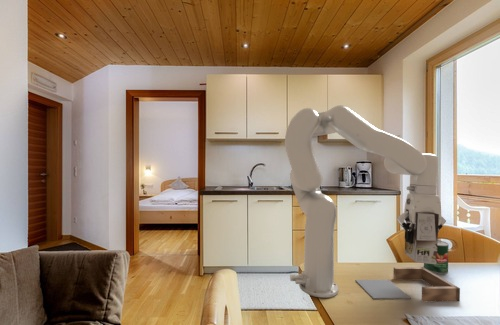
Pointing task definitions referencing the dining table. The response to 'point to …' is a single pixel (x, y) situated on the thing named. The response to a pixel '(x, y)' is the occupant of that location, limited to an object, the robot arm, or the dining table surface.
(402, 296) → the mat
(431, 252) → the coffee box
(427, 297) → the cubby
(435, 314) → the dining table surface
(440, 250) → the canned tomato
